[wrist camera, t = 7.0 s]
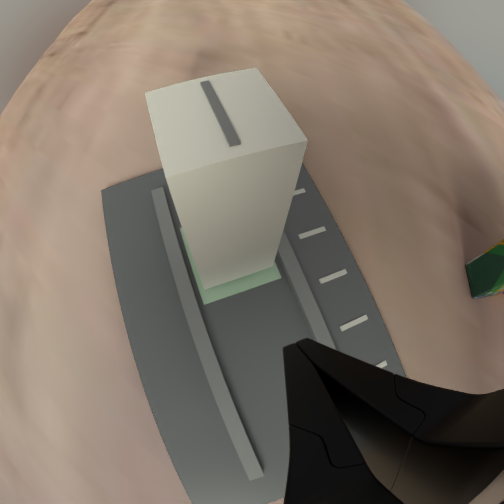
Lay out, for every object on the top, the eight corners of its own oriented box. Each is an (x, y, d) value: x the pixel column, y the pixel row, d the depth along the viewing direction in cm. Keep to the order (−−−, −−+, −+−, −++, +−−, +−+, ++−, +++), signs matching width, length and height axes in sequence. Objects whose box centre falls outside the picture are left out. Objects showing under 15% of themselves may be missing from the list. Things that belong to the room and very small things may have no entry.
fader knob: (272, 266, 17) (308, 137, 8) (204, 289, 17) (164, 175, 7) (247, 208, 19) (256, 65, 9) (184, 228, 18) (144, 90, 9)
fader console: (418, 424, 15) (428, 425, 13) (202, 516, 12) (199, 524, 11) (284, 141, 22) (287, 130, 21) (104, 195, 20) (98, 185, 19)
